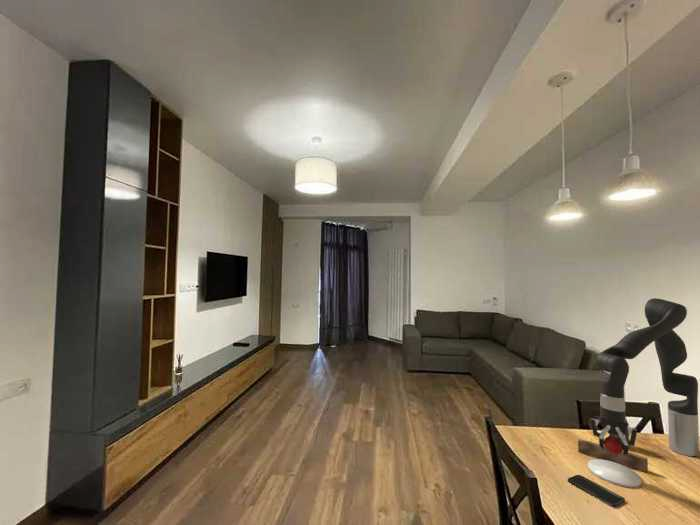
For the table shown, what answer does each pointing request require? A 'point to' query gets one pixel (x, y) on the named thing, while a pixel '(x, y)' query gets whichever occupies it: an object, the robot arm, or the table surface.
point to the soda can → (624, 434)
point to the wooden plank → (625, 460)
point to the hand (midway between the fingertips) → (613, 451)
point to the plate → (614, 473)
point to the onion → (613, 445)
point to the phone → (597, 491)
